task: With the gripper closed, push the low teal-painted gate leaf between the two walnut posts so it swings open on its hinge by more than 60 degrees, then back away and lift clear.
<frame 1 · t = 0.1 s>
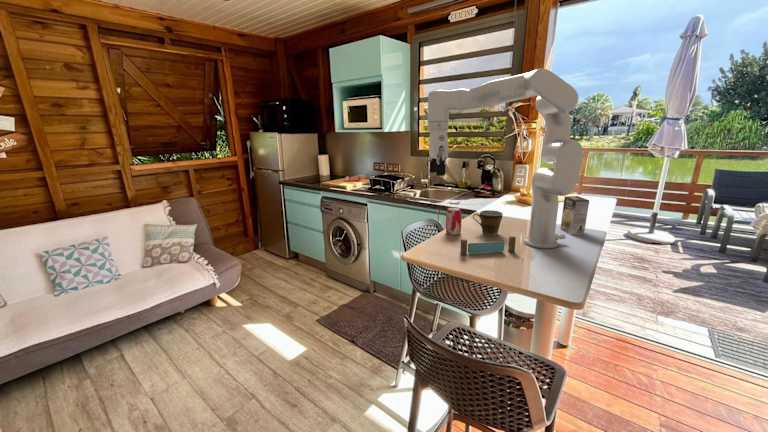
hand: (437, 173, 115), 31 cm above the table, tool pointing down, fingers open, 9 cm apart
gate leaf: (486, 247, 118), point 2 cm above the table, hinge at 0.0°
gate posts: (506, 251, 120), on the table
coffee box: (571, 232, 141), on the table
soda can: (453, 233, 144), on the table
ceramic cup: (486, 233, 142), on the table
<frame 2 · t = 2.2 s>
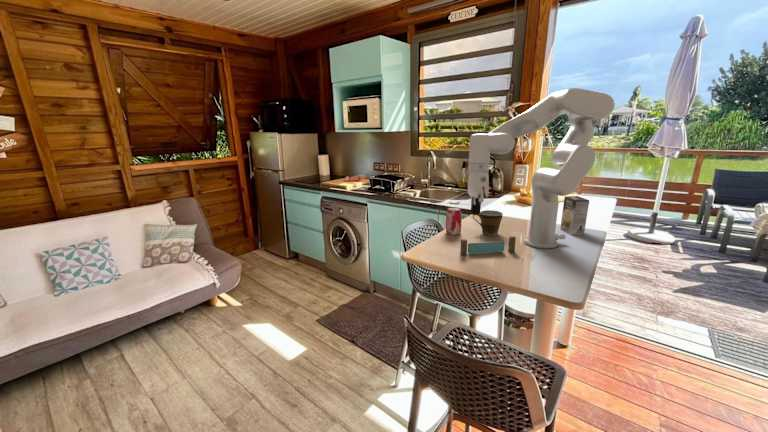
hand: (475, 214, 120), 15 cm above the table, tool pointing down, fingers closed
nothing on the table moved.
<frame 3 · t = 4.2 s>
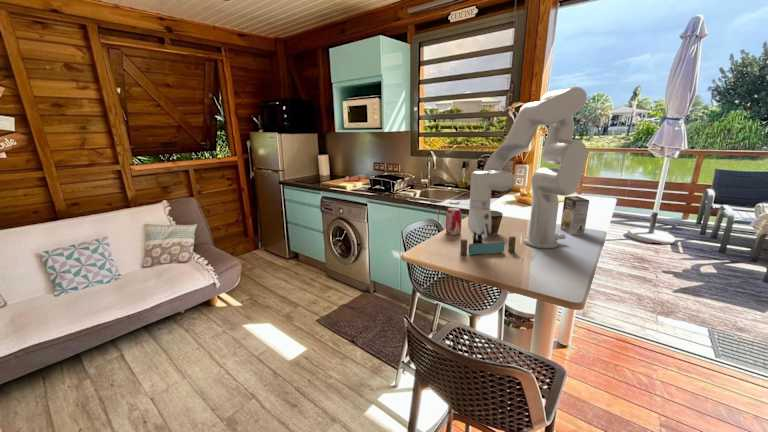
hand: (477, 248, 121), 1 cm above the table, tool pointing down, fingers closed
gate leaf: (486, 247, 118), point 2 cm above the table, hinge at 3.3°, touching gripper
everything else where it was.
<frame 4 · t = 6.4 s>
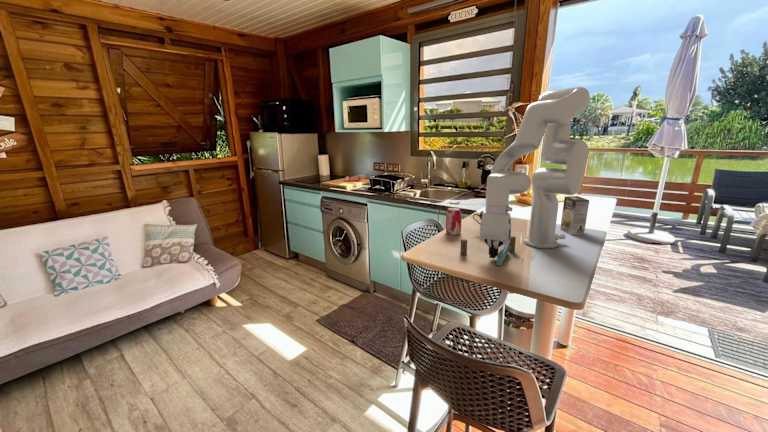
hand: (493, 256, 112), 1 cm above the table, tool pointing down, fingers closed
gate leaf: (502, 253, 112), point 2 cm above the table, hinge at 53.6°, touching gripper
everything else where it was.
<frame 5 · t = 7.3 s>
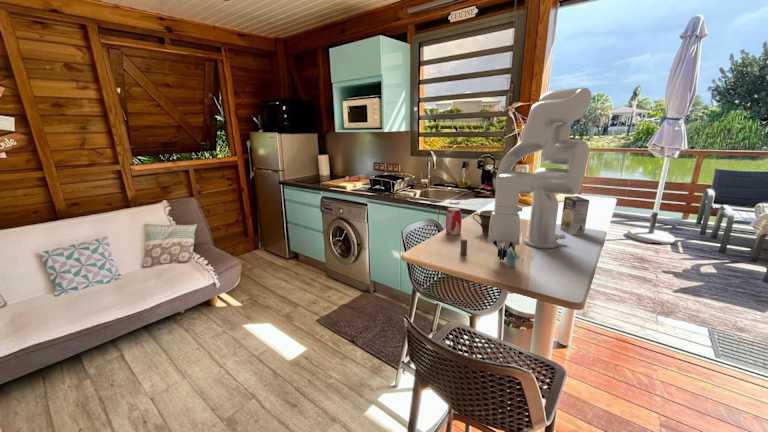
hand: (501, 258, 110), 1 cm above the table, tool pointing down, fingers closed
gate leaf: (509, 253, 111), point 3 cm above the table, hinge at 69.7°, touching gripper
everything else where it was.
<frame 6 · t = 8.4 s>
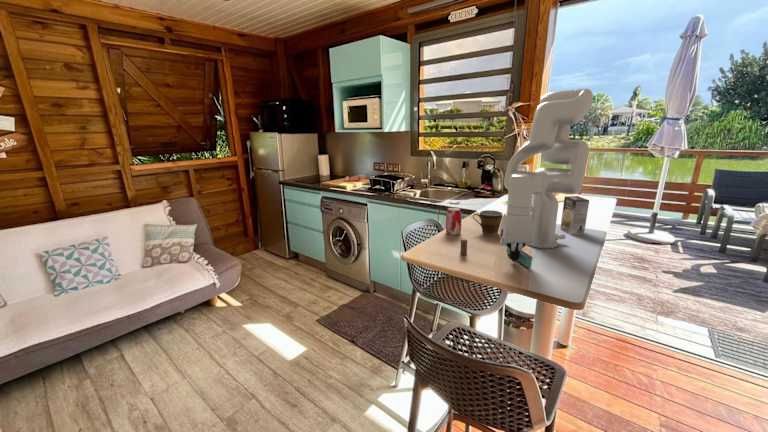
hand: (513, 260, 109), 1 cm above the table, tool pointing down, fingers closed
gate leaf: (518, 253, 111), point 3 cm above the table, hinge at 90.6°, touching gripper
everything else where it was.
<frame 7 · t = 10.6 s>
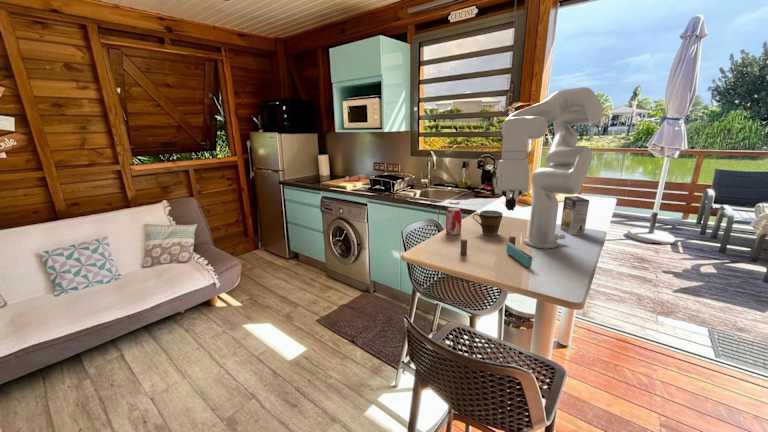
hand: (510, 209, 105), 20 cm above the table, tool pointing down, fingers closed
gate leaf: (518, 253, 111), point 3 cm above the table, hinge at 90.7°
everything else where it was.
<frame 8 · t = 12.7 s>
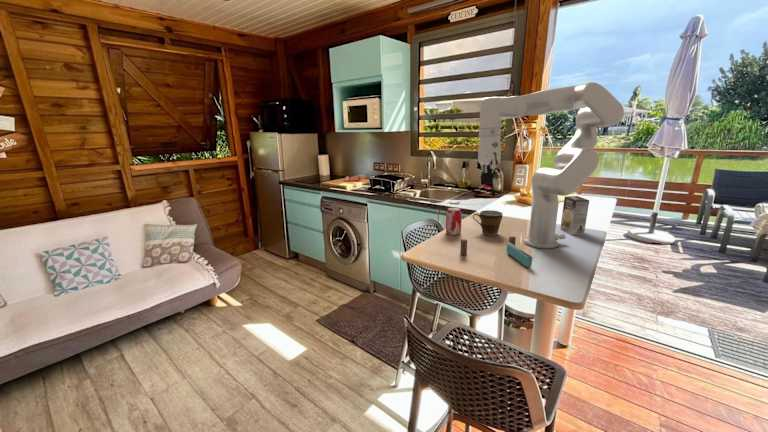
hand: (486, 182, 116), 27 cm above the table, tool pointing down, fingers closed
nothing on the table moved.
at the end: gate leaf at +91° (first picture: +0°) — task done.
